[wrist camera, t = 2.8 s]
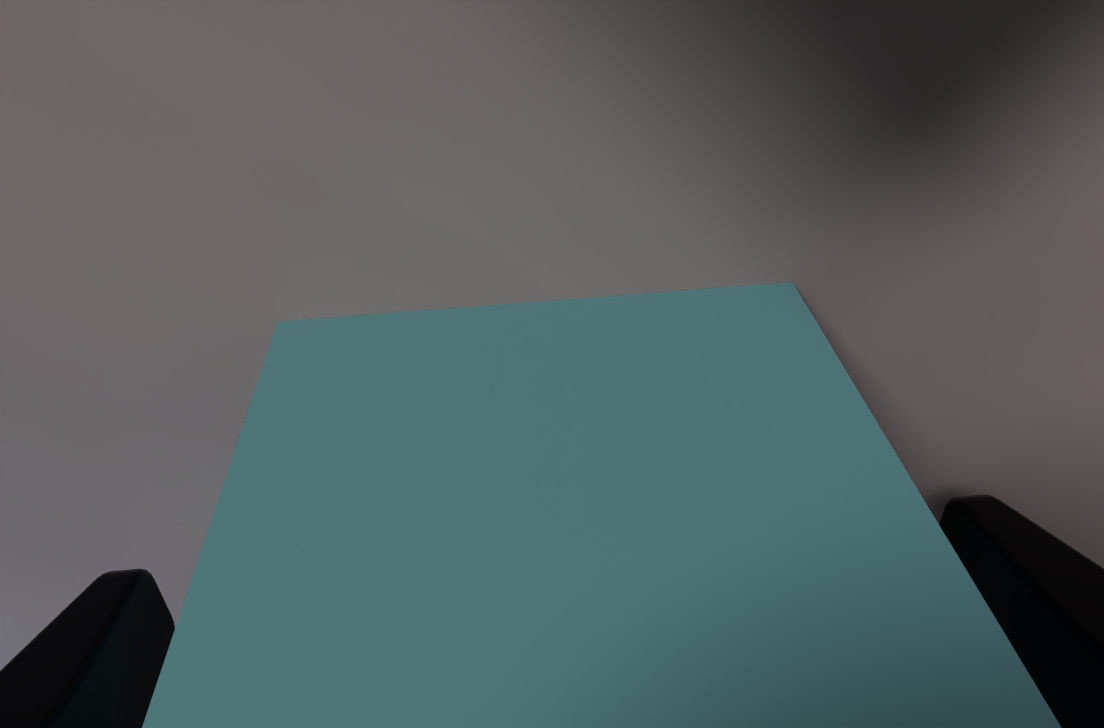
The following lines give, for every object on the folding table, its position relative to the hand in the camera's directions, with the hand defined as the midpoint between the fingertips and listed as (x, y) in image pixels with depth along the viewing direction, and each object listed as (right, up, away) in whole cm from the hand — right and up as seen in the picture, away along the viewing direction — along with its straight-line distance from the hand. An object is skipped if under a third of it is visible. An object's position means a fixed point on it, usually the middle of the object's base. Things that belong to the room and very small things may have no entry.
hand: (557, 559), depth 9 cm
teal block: (0, +1, +1) cm, 1 cm away
